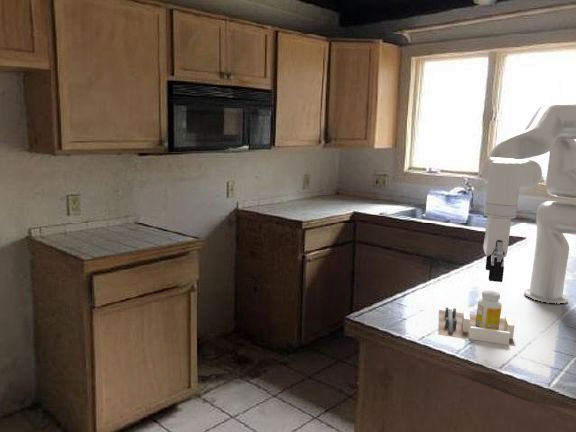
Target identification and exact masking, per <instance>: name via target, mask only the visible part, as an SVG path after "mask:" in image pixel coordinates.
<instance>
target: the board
mask: <svg viewBox="0 0 576 432" xmlns="http://www.w3.org/2000/svg"><path fill="white" fill-rule="evenodd" d="M452 313H453V311H452ZM469 314H470V326H469V332H463V330H462V318H463V312H458V311H456V316H455V318H457V323H456V329H453V334H450V333H449V332H448V328H445V321H446V317H445V310H444V309H442V310H441V309H438V332H437V333H438V335H441V336H446V337H453V338H459V339H467V340H473V339H470V338H469V337H470V328H471V326H473V327H475V324H476V316H477V314H472V313H469ZM453 321H454V318H453ZM504 323H505V318H503V317H502V318H501V317H500V323H499V330H500V331H504ZM473 341H474V340H473ZM477 341H479V340H477ZM485 342H486V341H484V343H485ZM486 343H487V342H486ZM490 343H492V344H494V343H493V342H490ZM497 344H499V343H497ZM499 345H500V344H499ZM503 345H506V344H503ZM506 346H507V345H506ZM508 346H512V347H516V344H515V341H514V338H513V339H510V338H509V345H508Z"/></svg>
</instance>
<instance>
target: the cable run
mask: <svg viewBox="0 0 576 432" xmlns="http://www.w3.org/2000/svg"><path fill="white" fill-rule="evenodd" d="M444 311H445V317H446V321H445V328H448V332H449V333H450V334H453V329H456V323H457V318H455V316H456V312H457V308H452V309H451V308H449V307H447V306H446V307H445V310H444ZM452 312H453V313H452ZM453 318H454V321H453Z"/></svg>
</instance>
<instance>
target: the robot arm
mask: <svg viewBox="0 0 576 432" xmlns="http://www.w3.org/2000/svg"><path fill="white" fill-rule="evenodd" d="M548 152H549V154H548V155H549V156H548V165H547V171H546V180H545V181H546V182H545V190H546V192H547V194H548V195H550V196H551V197H556V198H561V199H562V198H564V199H570V200H571V199H572V200H576V101H554V102H547V103H545V104H542V105H541V106H540V107H539V108H538V109H537V110H536V112H535V114H534V115H533V116H532V118H531V120H530V121H529V122H528V124H527V126H526V127H525V128H524V130H523V131H522V132H520V133H519V132H518V133H517V134H514V135H513V136H511V137H509V138H507V139H505V140H503V141H501V142H499V143H498V144H496V145H495V146H494V147H493V149H492V150H491V151H490V153H489V154H488V156H487V157H486V159H485V161H483V165H482V168H481V178H482V180H483V182H484V183H485V184H486V191H485V201H484V210H483V215H484V216H485V217H487V220H486V224H485V225H486V226H485V232H484V233H485V234H484V240H483V241H484V242H483V252H484V254H485V255H486V259H485V260H486V261H485V270H486V271H489V272H488V281H489V282H498V283H502V282H503V281H504V280H503V278H504V272H505V271H504V270H505V266H504V265H505V263H504V262H505V257H507V255H508V249H509V243H510V242H509V241H510V233H511V222H512V219H515V218H517V214H518V212H517V211H518V205H519V193H520V190H530V189H534V188H535V187H536V186H538V185H539V183H540V181H541V180H542V177H543V170H542V167H541V165H540V164H539V163H538V162H536V161H535V160H532V159H529V158H533V157H534V158H535V157H538V156H541V155H545V154H546V153H548ZM535 215H536V216H535V217H536V219H535V220H536V240H535V249H534V254H533V255H534V257H533V264H532V271H531V279H530V280H531V281H530V287H529V288H527V289H524V293H523V295H524V294H525V295H526V296H528V297H530V298H532V299H535V300H538V301H537V302H539V301H541V302H540V303H543V302H546V303H545V304H549V303H555V304H554V305H561V304H560V303H564V304H567V303H568V300H569V299H568V296H567V295H565V294H564V288H565V282H566V274H567V268H568V261H569V260H568V259H569V254H570V244H569V242H568V240H567V238H566V236H565V235H564V234H568V235H575V236H576V203H572V202H566V201H565V202H564V201H557V200H549V201H544V202H541V204H539V206H538V208H537V210H536V214H535ZM525 295H524V296H525ZM526 296H525V297H526ZM528 297H527V298H528ZM530 298H529V299H530ZM532 299H531V300H532ZM535 300H534V301H535ZM556 303H557V304H556Z"/></svg>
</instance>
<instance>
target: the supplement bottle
mask: <svg viewBox="0 0 576 432" xmlns="http://www.w3.org/2000/svg"><path fill="white" fill-rule="evenodd" d="M481 297H482V298H480V299H478V301H477V302H478V303H477V309H476V315H477V316H476V324H475V327H480V328H487V329H493V330H499V323H500V318H501V314H502V305H503V304H502V303H501V302H500V301H499V300H500V298H501V293H500V292H498V291H495V290H489V289H486V290H482V292H481Z"/></svg>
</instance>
